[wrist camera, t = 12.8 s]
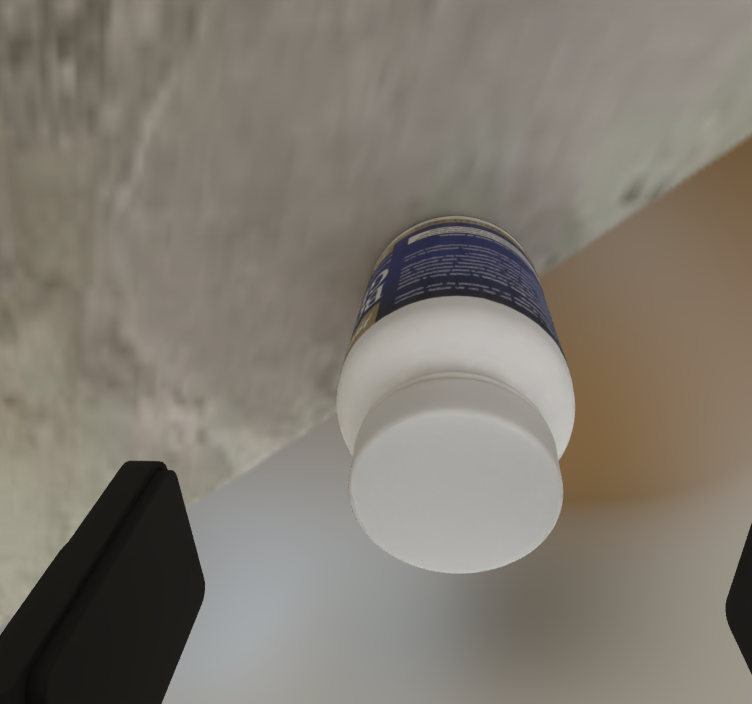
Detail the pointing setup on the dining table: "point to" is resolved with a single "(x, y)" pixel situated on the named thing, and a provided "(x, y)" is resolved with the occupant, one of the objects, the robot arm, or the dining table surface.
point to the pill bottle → (455, 400)
